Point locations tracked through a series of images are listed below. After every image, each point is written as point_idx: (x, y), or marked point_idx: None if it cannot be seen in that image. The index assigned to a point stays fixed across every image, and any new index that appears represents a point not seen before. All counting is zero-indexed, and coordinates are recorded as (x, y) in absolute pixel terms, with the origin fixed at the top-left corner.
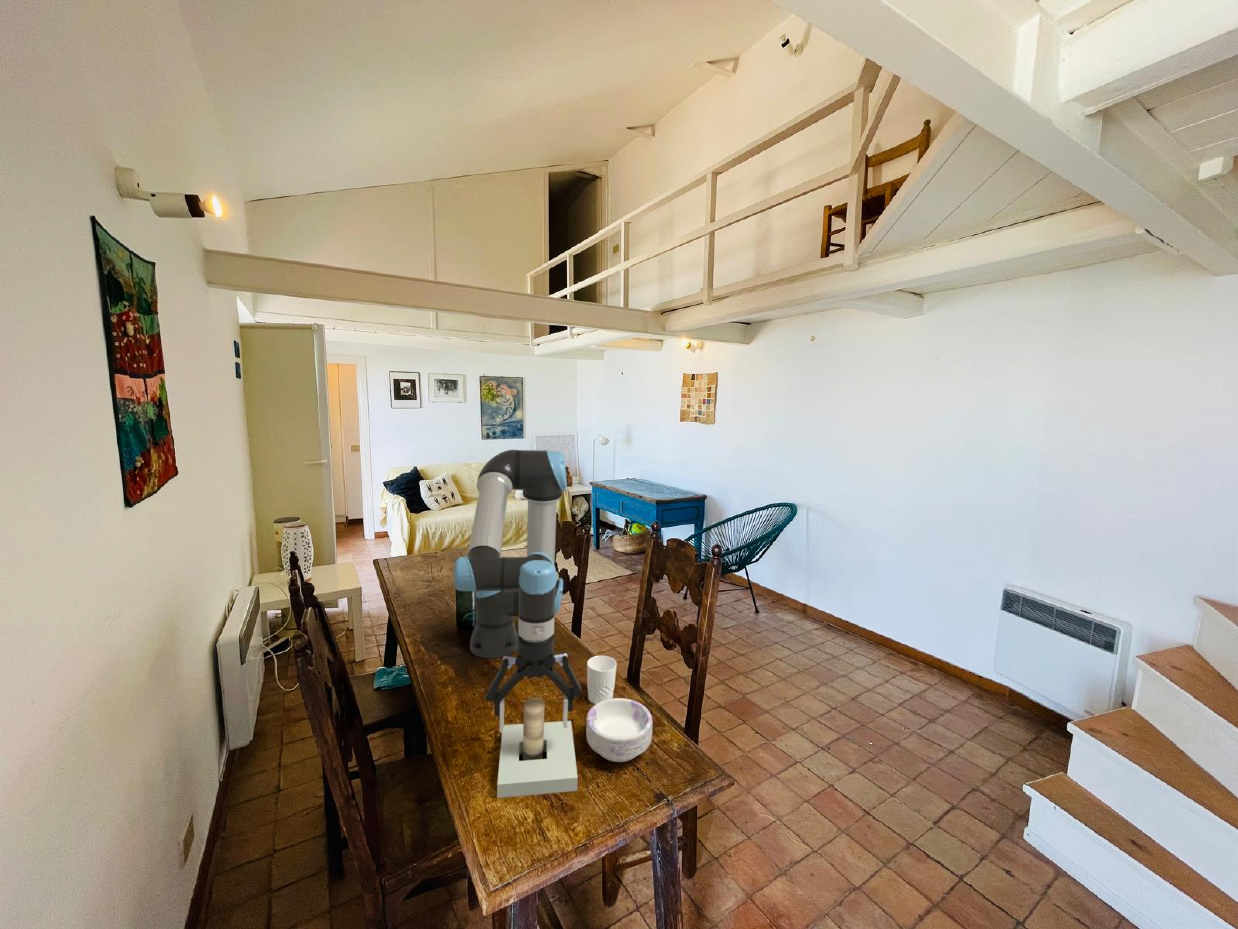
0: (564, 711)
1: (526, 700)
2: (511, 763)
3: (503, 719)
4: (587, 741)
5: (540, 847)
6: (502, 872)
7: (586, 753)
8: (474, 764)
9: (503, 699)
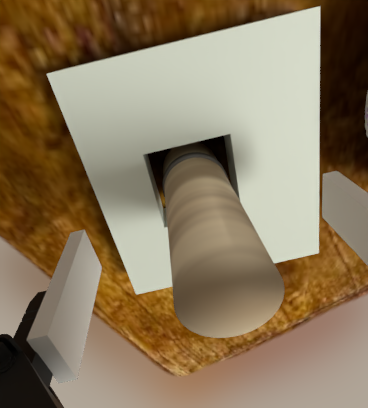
0: (365, 261)
1: (180, 287)
2: (147, 237)
3: (89, 292)
4: (365, 125)
5: None
6: (191, 365)
7: (339, 113)
8: (35, 193)
9: (56, 355)
